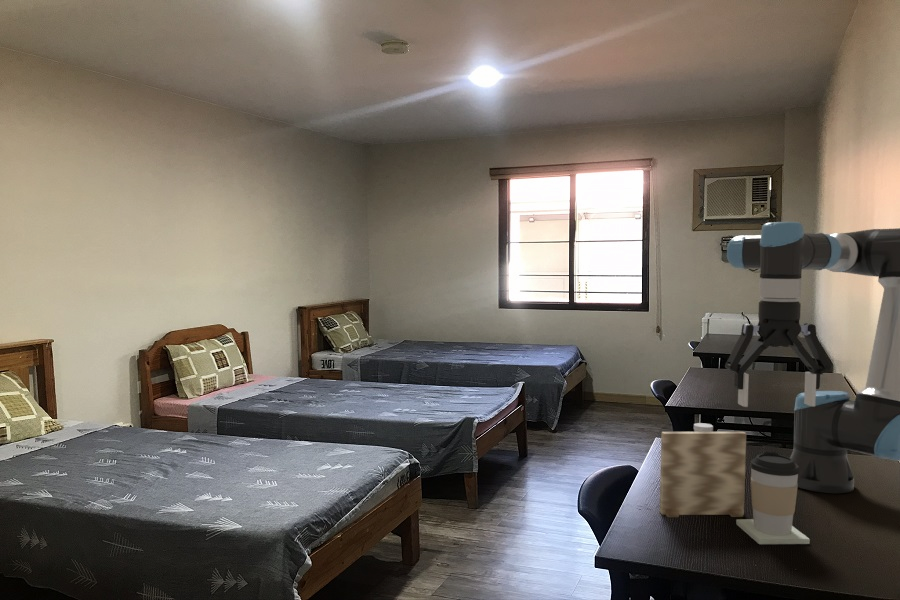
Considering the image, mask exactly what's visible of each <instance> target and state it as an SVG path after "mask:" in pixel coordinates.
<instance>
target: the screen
mask: <svg viewBox="0 0 900 600" xmlns="http://www.w3.org/2000/svg"><path fill="white" fill-rule="evenodd" d="M660 435H661V436H660V438H661V439H660V440H661V442H660V477H659V478H660V480H659V482H660V483H659V486H660V487H659V513H660V514H661V516H666V517H667V518H679V517H680V516H689V515H691V516H692V515H693V516H694V515H695V516H700V515H701V516H705V515H707V516H708V515H711V516H712V515H714V516H715V515H717V516H718V515H719V516H720V515H725V516H726V515H729V516H730V517H731V518H743V517H744V513H745V490H746V488H745V487H746V485H745V483H746V453H747V432H744V431H712V432H695V431H661V434H660Z"/></svg>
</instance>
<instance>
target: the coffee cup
mask: <svg viewBox="0 0 900 600" xmlns="http://www.w3.org/2000/svg"><path fill="white" fill-rule="evenodd" d="M749 467H750V473H751V476H750V489H751V490H750V492H751V506H752V516H753V517H752V519H753V521H754V528H755V529H756V530H758V531H760V532H762V533H765V534H769V535H776V536H785V535H789V534H791V530H792V526H793V520H794V514H795V511H796V503H797V502H796V501H797V494H798V488H799V487H798V483H797V479H798V474H799V466H798V465H797V464H796V463H794V461H793V459H791V458H790V457H788V456H785V455H782V454H779V453H778V452H774V451H765V452H763V453H760V454H757V455H756V456H755V458H752V459H751V460H750V464H749Z"/></svg>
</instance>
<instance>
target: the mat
mask: <svg viewBox="0 0 900 600" xmlns="http://www.w3.org/2000/svg"><path fill="white" fill-rule="evenodd" d="M735 521H736V523H735V524H736V526H738V527H739V528H740V529H741V530H742V531H743V532H744V533H746V534H747V535H748V536H749V537H750V538H751V539H753V540H754V541H755V542H756V543H757V544H759V545H810V541H811V539H810V538H809V537H808V536H807V535H806V534H804V533H802V532H801V531H800V530H799V529H797V528H796V527H795V526H793V525H792V530H791V534H789V535H785V536H776V535H769V534H765V533H762V532H760V531H758V530H756V529H755V528H754V521H753V518H751V519H750V518H749V519H748V518H747V519H746V518H745V519H743V518H742V519H741V518H739V519H736V520H735Z"/></svg>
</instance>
